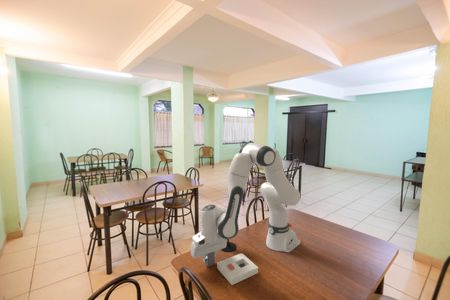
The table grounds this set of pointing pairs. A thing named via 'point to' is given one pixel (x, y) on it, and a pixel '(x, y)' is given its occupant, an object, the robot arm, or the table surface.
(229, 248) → the wine glass
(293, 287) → the table surface
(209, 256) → the plug
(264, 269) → the table surface
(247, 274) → the socket plate
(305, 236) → the table surface
